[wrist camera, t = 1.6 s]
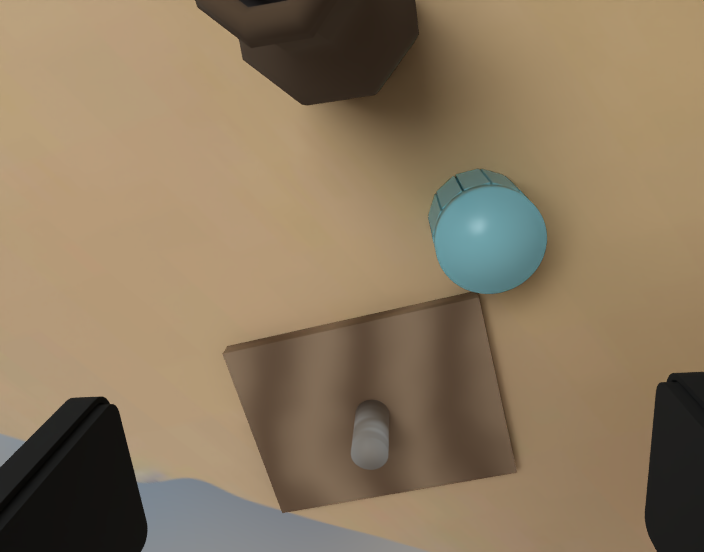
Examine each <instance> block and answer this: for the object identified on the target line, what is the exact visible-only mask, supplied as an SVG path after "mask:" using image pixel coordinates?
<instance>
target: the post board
mask: <svg viewBox="0 0 704 552" xmlns="http://www.w3.org/2000/svg"><path fill="white" fill-rule="evenodd" d="M223 356H224V359H225V362H226V364H227V367H228V370H229V372H230V375H231V378H232V380H233V383H234V385H235V388H236V391H237V393H238V396H239V399H240V401H241V404H242V407H243V409H244V412H245V415H246V417H247V420H248V423H249V425H250V428H251V431H252V433H253V436H254V439H255V441H256V444H257V447H258V449H259V452H260V455H261V457H262V460H263V463H264V465H265V468H266V471H267V473H268V476H269V479H270V481H271V484H272V487H273V489H274V492H275V495H276V497H277V500H278V503H279V505H280V508H281V511H282V513H285V512H291V511H297V510H302V509H308V508H314V507H320V506H326V505H331V504H337V503H343V502H349V501H354V500H360V499H366V498H372V497H378V496H383V495H389V494H395V493H401V492H407V491H412V490H418V489H424V488H430V487H435V486H441V485H447V484H453V483H459V482H464V481H470V480H476V479H482V478H487V477H493V476H499V475H505V474H511V473H516V472H517V470H516V466H515V461H514V457H513V452H512V447H511V443H510V438H509V434H508V429H507V424H506V420H505V415H504V411H503V406H502V401H501V397H500V392H499V388H498V383H497V378H496V374H495V369H494V365H493V360H492V355H491V351H490V346H489V342H488V337H487V333H486V328H485V323H484V319H483V314H482V310H481V305H480V300H479V296H478V294H477V293H476V292H469V293H465V294H460V295H456V296H451V297H447V298H442V299H438V300H433V301H429V302H424V303H420V304H415V305H411V306H406V307H402V308H397V309H393V310H388V311H384V312H379V313H375V314H370V315H366V316H362V317H357V318H353V319H348V320H344V321H339V322H335V323H330V324H326V325H321V326H317V327H312V328H308V329H303V330H299V331H294V332H290V333H285V334H281V335H276V336H272V337H267V338H263V339H258V340H254V341H249V342H245V343H240V344H236V345H231V346H227V348H226V349H225V351H224V353H223Z"/></svg>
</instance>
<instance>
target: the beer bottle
mask: <svg viewBox="0 0 704 552" xmlns="http://www.w3.org/2000/svg"><path fill="white" fill-rule="evenodd" d="M195 1H196V4H197V7H198V8H199V9H200V10H202V11H203V12H204V13H206V14H207V15H208V16H210V17H211V18H212V19H213V20H215V21H216V22H217V23H219V24H220V25H221V26H223V27H224V28H225V29H227V30H228V31H229V32H230V33H232V34H233V35H234V36H236V37H237V38H238V39H239V42H240V47H241V52H242V57H243V60H244V61H245V62H247V63H248V64H249V65H251V66H252V67H253V68H255V69H256V70H257V71H259V72H260V73H261V74H262V75H264V76H265V77H266V78H268V79H269V80H270V81H272V82H273V83H274V84H276V85H277V86H278V87H280V88H281V89H282V90H283V91H285V92H286V93H287V94H289V95H290V96H291V97H293V98H294V99H295V100H297V101H298V102H299V103H301V104H302V105H313V104H319V103H326V102H332V101H339V100H345V99H352V98H358V97H364V96H371V95H376V93H377V92H378V91H379V90H380V89H381V88H382V86H383V85H384V83H385V82H386V81H387V79H388V78H389V76H390V75H391V74H392V72H393V71H394V70H395V68H396V67H397V65H398V64H399V63H400V61H401V60H402V58H403V57H404V56H405V54H406V53H407V51H408V50H409V49H410V47H411V46H412V44H413V43H414V41H415V40H416V38H417V36H418V35H419V32H418V22H417V13H416V4H415V0H195Z"/></svg>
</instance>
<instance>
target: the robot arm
mask: <svg viewBox="0 0 704 552" xmlns="http://www.w3.org/2000/svg"><path fill="white" fill-rule="evenodd" d="M645 523H646V528H647V532H648V535H649V537H650V539H651V541H652V543H653V545H654V547H655V549H656V550H657V552H704V372H688V373H672V374H671V375H669V377H668V379H667V382H661V383H659V384H658V386H657V389H656V398H655V409H654V419H653V430H652V441H651V452H650V463H649V474H648V484H647V495H646V506H645ZM146 537H147V521H146V517H145V513H144V509H143V505H142V502H141V497H140V494H139V490H138V485H137V481H136V477H135V473H134V469H133V465H132V461H131V457H130V453H129V449H128V446H127V442H126V438H125V434H124V430H123V426H122V422H121V418H120V414H119V411H118V408H117V407H116V405H114V404H110V403H109V401H108V400H107V399H106V398H104V397H80V398H70V399H69V400H67V401H66V402H65V403H64V404H63V405H62V406H61V407H60V408H59V409H58V410H57V411H56V412H55V413H54V414H53V415H52V416H51V417H50V418H49V419H48V420H47V421H46V422H45V423H44V424H43V425H42V426H41V427H40V428H39V429H38V430H37V431H36V432H35V433H34V434H33V435H32V436H31V437H30V438H29V439H28V440H27V441H26V442H25V443H24V444H23V445H22V446H21V447H20V448H19V449H18V450H17V451H16V452H15V453H14V454H13V455H12V456H11V457H10V458H9V459H8V460H7V461H6V462H5V463H4V464H3V465H2V466H1V467H0V552H141V551H142V549H143V547H144V544H145V542H146Z"/></svg>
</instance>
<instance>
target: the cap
mask: <svg viewBox="0 0 704 552" xmlns="http://www.w3.org/2000/svg"><path fill="white" fill-rule="evenodd" d="M456 178H457V179H456ZM456 178H455V177H454V176H453V177H452V178H450V179H449V180H448V181H447V182H446V183H445V184H444V185H443V186H442V187H441V188H440V189H439V190H438V191H437V194H435V196H434V199H433V202H432V205H431V208H430V211H429V215H428V216H429V217H428V219H429V223H430V228H431V233H432V237H433V242H434V246H435V250H436V255H437V258H438V261H439V264H440V266H441V268H442V269H443V271H444V272H445V274H446V275H447V276H448V277H449V278H450V279H451V280H452V281H453V282H454V283H456V284H457V285H459V286H460V287H462V288H464V289H466V290H469V291H472V292H476V293H482V294H494V293H501V292H504V291H508V290H510V289H513V288H515V287H517V286H518V285H520V284H522V283H523V282H524V281H526V280H527V279H528V278H529V277H530V276H531V275H532V274H533V273H534V272H535V271H536V269H537V268H538V266H539V265H540V263H541V261H542V259H543V256H544V253H545V250H546V244H547V232H546V227H545V223H544V220H543V218H542V216H541V214H540V212H539V211H538V209H537V208H536V207H535V205H534V204H533V203H532V202H531V201H530V200H529V199H528V198H527V197H526V196H525V195H524V194H523V193H522V192H521V191H520V190H519V189H518V188H517V187H516V186H515V185H514V184H513V183H512V182H511V181H510V180H509V179H508V178H507V177H506V176H504V175H502V174H499V173H495V172H491V171H488V170H484V169H481V171H480V170H479V169H475V170H471V171H467V172H463V173H459V174H456Z"/></svg>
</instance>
